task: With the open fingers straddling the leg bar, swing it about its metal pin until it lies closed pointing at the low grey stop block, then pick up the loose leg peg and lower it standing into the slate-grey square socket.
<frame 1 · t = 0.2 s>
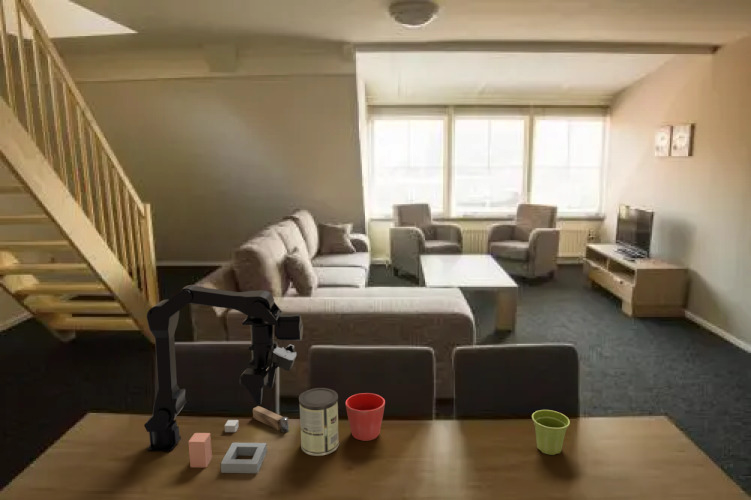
hand: (264, 395, 129), 14 cm above the table, fingers open, 9 cm apart
coffee can: (319, 445, 131), on the table
plant pot: (548, 449, 129), on the table
leg peg: (201, 462, 124), on the table
stop block: (231, 429, 139), on the table
flower pot: (365, 434, 137), on the table
socket: (244, 461, 124), on the table
pivot pin: (284, 430, 139), on the table
leg bar: (268, 417, 143), point 1 cm above the table, hinge at -35.0°
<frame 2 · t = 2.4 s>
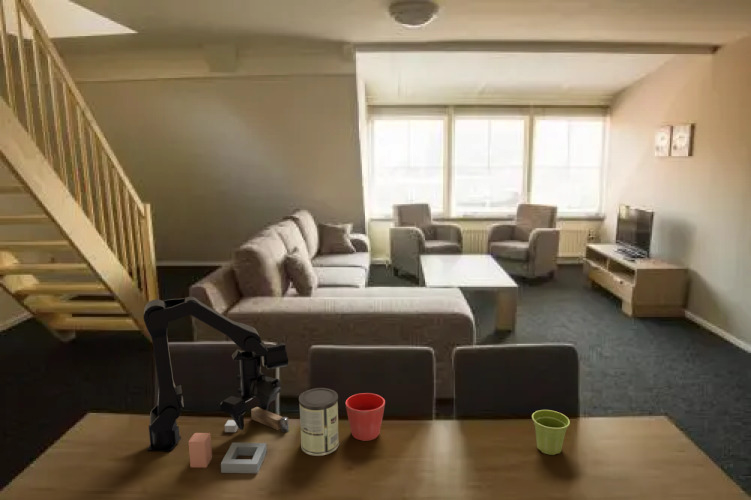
hand: (253, 422, 141), 1 cm above the table, fingers open, 9 cm apart
leg bar: (267, 418, 142), point 1 cm above the table, hinge at -32.0°, touching gripper
everything else where it was.
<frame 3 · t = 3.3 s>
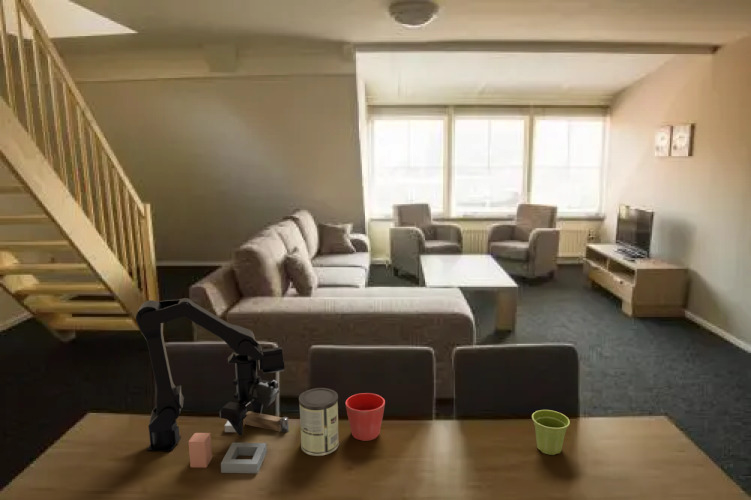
hand: (249, 426, 138), 1 cm above the table, fingers open, 9 cm apart
leg bar: (263, 421, 141), point 1 cm above the table, hinge at -17.5°, touching gripper
everything else where it was.
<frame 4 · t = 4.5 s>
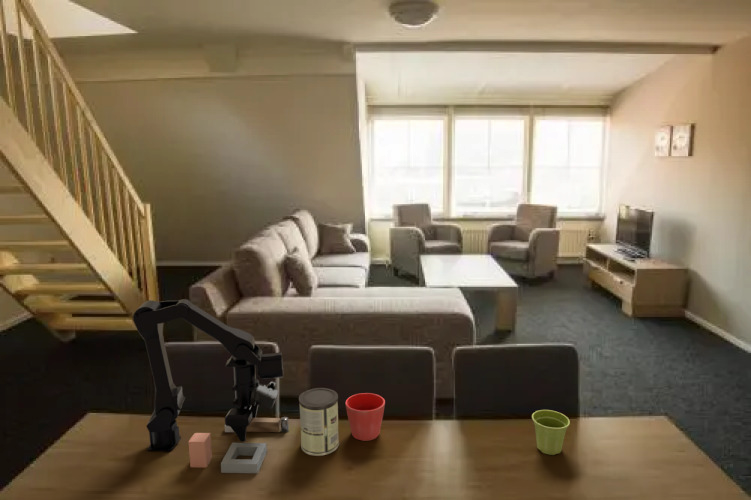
hand: (248, 432, 136), 1 cm above the table, fingers open, 9 cm apart
leg bar: (260, 424, 139), point 1 cm above the table, hinge at -0.8°, touching gripper
everything else where it was.
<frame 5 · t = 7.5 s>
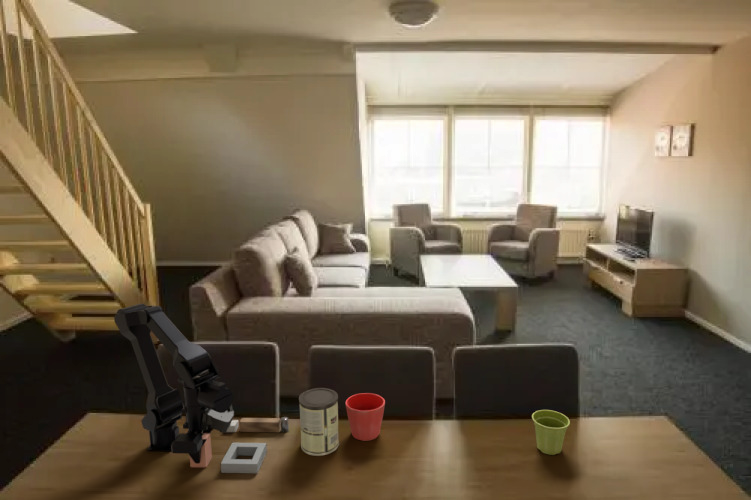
hand: (201, 457, 124), 1 cm above the table, fingers closed on leg peg, 4 cm apart
leg peg: (201, 462, 124), on the table, touching gripper
leg bar: (260, 425, 139), point 1 cm above the table, hinge at 0.5°
everything else where it was.
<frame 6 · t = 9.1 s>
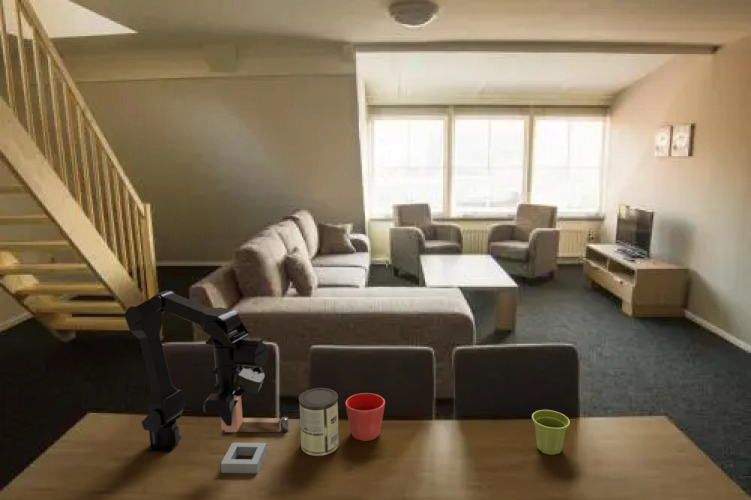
hand: (232, 420, 122), 12 cm above the table, fingers closed on leg peg, 4 cm apart
leg peg: (232, 425, 122), point 10 cm above the table, touching gripper
everything else where it was.
when the fingers open (3 cm above the table, at t = 11.1 s): leg peg drops 2 cm, resting in socket.
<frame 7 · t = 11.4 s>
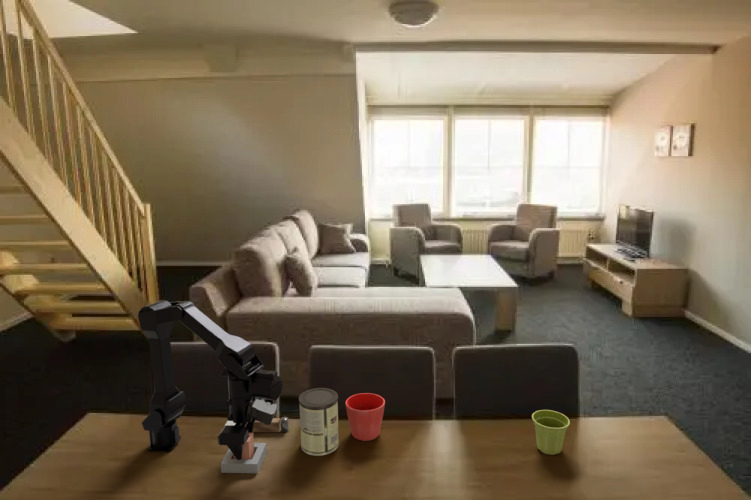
hand: (244, 450, 124), 3 cm above the table, fingers open, 7 cm apart
leg peg: (244, 462, 124), resting in socket
everything else where it was.
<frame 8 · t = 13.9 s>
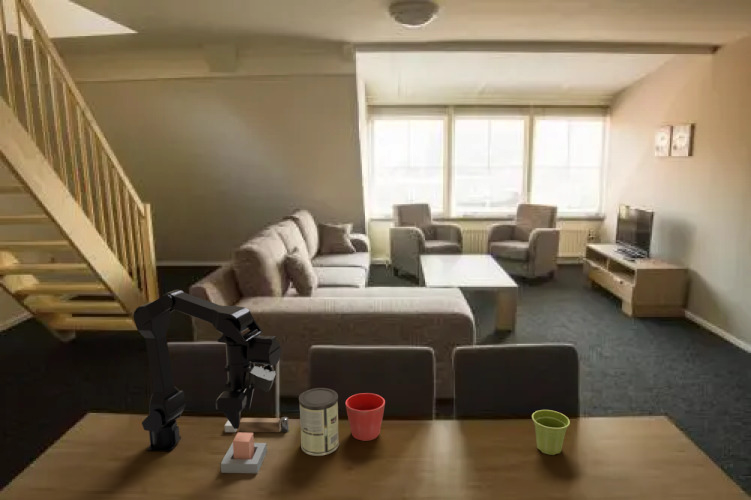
hand: (242, 418, 122), 12 cm above the table, fingers open, 9 cm apart
nothing on the table moved.
at the end: leg bar at +0° (first picture: -35°); leg peg 0.0 cm off-centre on the socket, point 0.0 cm above the socket's base; leg peg tilted 0° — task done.
